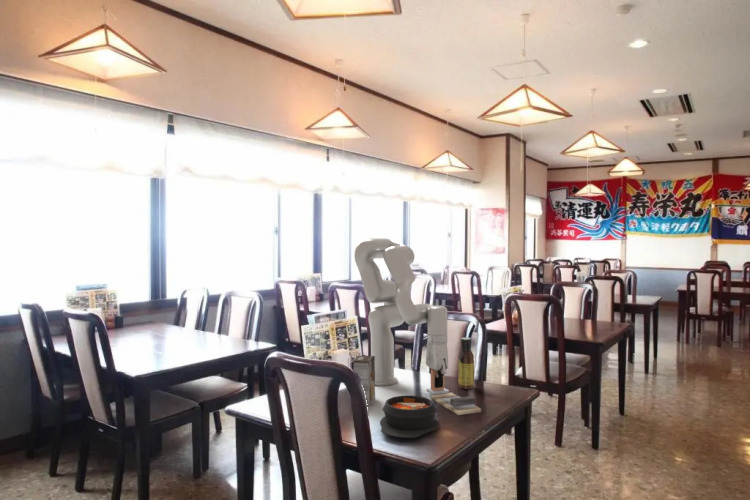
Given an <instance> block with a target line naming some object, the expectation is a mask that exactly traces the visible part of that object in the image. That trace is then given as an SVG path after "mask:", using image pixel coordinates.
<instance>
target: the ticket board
mask: <svg viewBox="0 0 750 500" xmlns="http://www.w3.org/2000/svg"><path fill="white" fill-rule="evenodd" d="M430 400H432V401H434V402H437V403H438V404H439V405H441V406H442V407H444V408H446V409H447V410H450V411H451V412H453V413H454V414H455V415H457V416H461V415H467V414H476V413H482V408H481V407H479V406H477V405H476V397H474V396H472V395H469V396H462V397H461V396H459V395H457V394H455V393H454V392H449V393H441V394H433V395H432V394H430Z"/></svg>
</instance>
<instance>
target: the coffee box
mask: <svg viewBox="0 0 750 500" xmlns="http://www.w3.org/2000/svg"><path fill="white" fill-rule="evenodd" d="M353 370H354V371H355V372H356V373H357V374H358V376H359V377H360V379H361V382H362V385H363V388H364V391H365V395H366V400H367V404H368V406H367V407H370V406H371V405H372V403H374V401H375V399H376V385H375V356H371V355H358V356H357V357H356V358H354V360H352V371H353Z"/></svg>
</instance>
